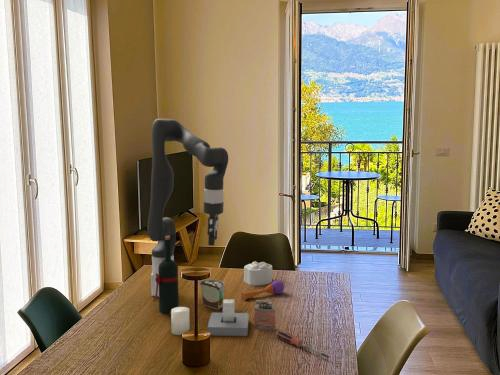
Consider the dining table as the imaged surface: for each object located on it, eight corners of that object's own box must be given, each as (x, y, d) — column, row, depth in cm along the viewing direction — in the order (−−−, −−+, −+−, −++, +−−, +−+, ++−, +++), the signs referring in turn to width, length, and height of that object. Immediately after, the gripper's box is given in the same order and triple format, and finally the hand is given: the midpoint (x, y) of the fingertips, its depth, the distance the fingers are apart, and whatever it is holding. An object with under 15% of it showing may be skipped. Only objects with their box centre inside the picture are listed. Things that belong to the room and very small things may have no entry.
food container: (231, 307, 216) (231, 283, 215) (220, 311, 212) (220, 286, 210) (211, 300, 225) (210, 276, 223) (200, 303, 220) (199, 280, 219)
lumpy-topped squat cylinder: (241, 280, 252) (241, 262, 251) (266, 276, 258) (266, 259, 257) (251, 286, 243) (252, 268, 242) (276, 282, 249) (277, 264, 247)
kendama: (238, 288, 227) (278, 278, 237) (240, 302, 227) (280, 291, 237) (245, 290, 222) (285, 279, 232) (247, 304, 222) (287, 293, 232)
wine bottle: (150, 309, 213) (148, 235, 209) (174, 305, 218) (173, 233, 214) (157, 316, 206) (155, 240, 202) (181, 311, 211) (180, 237, 207)
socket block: (207, 335, 188) (207, 327, 188) (211, 320, 202) (211, 312, 202) (247, 335, 188) (247, 327, 188) (248, 320, 202) (248, 313, 201)
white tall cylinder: (222, 329, 193) (222, 303, 192) (223, 325, 197) (223, 299, 196) (233, 330, 193) (233, 303, 192) (234, 325, 197) (234, 299, 196)
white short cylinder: (170, 334, 189) (169, 313, 188) (173, 327, 195) (172, 306, 194) (188, 335, 188) (187, 313, 187) (190, 328, 195) (190, 307, 194)
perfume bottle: (276, 327, 196) (276, 300, 195) (273, 330, 193) (274, 303, 191) (255, 324, 199) (255, 298, 197) (252, 327, 195) (252, 301, 194)
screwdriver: (332, 360, 170) (332, 351, 169) (326, 363, 168) (326, 354, 167) (280, 335, 189) (280, 327, 188) (273, 337, 187) (273, 329, 186)
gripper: (206, 196, 210) (205, 237, 212) (201, 203, 196) (200, 246, 198) (225, 197, 209) (224, 238, 212) (221, 204, 195) (220, 247, 198)
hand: (212, 242), depth 205 cm, fingers open, 8 cm apart
